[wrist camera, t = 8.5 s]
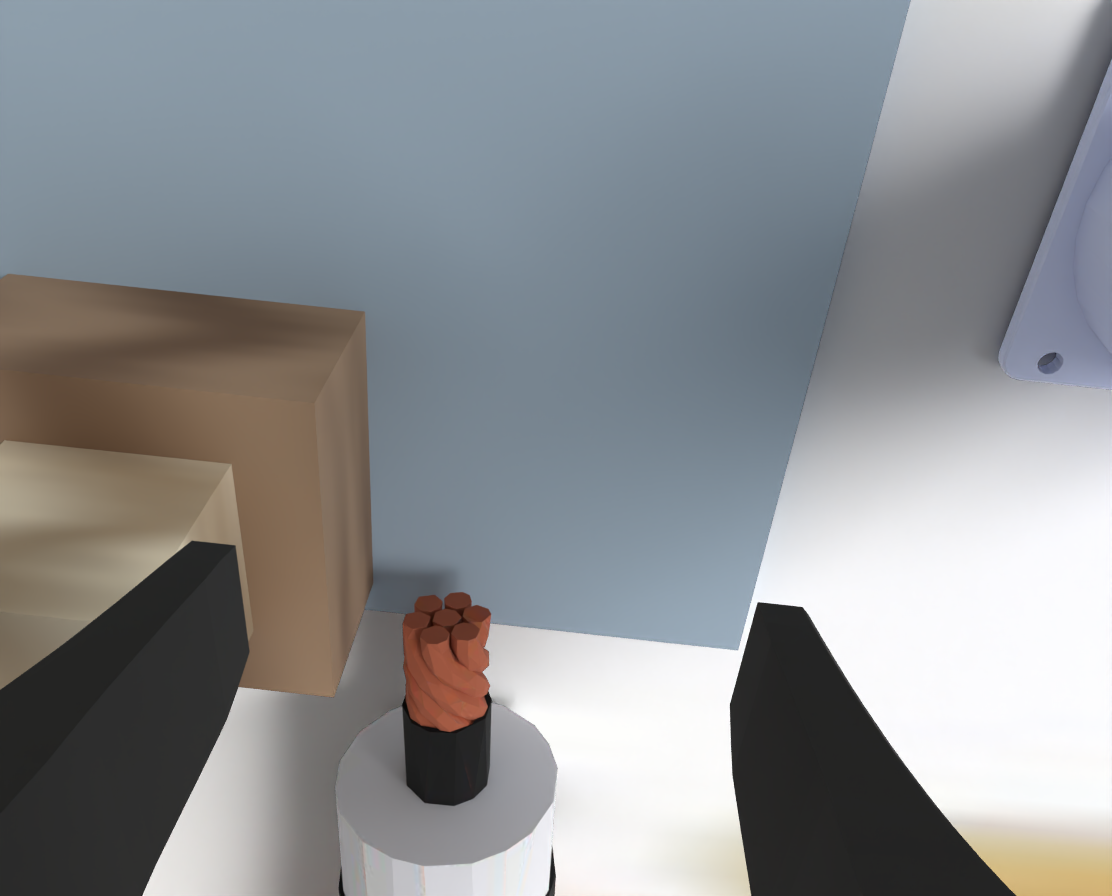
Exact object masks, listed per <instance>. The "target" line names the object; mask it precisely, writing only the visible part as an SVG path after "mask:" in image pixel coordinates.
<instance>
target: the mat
mask: <svg viewBox="0 0 1112 896" xmlns="http://www.w3.org/2000/svg"><path fill="white" fill-rule="evenodd" d="M910 1H911V0H0V279H1V278H3V277H4V276H6V275H7V274H16V275H26V276H35V277H45V278H54V279H63V280H73V281H82V282H92V283H101V284H110V285H120V286H129V287H139V288H148V289H158V290H167V291H176V292H186V293H195V294H205V295H214V296H223V297H233V298H242V299H252V300H261V301H271V302H280V303H289V304H299V305H308V306H318V307H327V308H336V309H346V310H355V311H365V325H366V358H367V391H368V424H369V457H370V490H371V523H372V556H373V585H372V588H371V591H370V594H369V597H368V600H367V603H366V606H365V610H374V611H383V612H392V613H401V614H408V613H414V604H415V602H416V601H417V599H418V597H420V596H429V595H436V596H437V597H438V598H439V599H441V600H442V601H443V603H442V610H443V609H445V606H444V598H445V597H446V596H447V595H448V594H450V593H456V592H464V593H466V594H469V595H470V597H471V600H472V606H474V605H479V606H482V607H485V608H488V609H489V611H490V613H491V620H490V623H493V624H502V625H511V626H520V627H529V628H538V629H547V630H557V631H566V632H575V633H584V634H593V635H602V636H611V637H620V638H630V639H639V640H648V641H657V642H666V643H675V644H684V645H693V646H703V647H712V648H721V649H730V650H738V648H739V645H740V641H741V637H742V633H743V629H744V626H745V622H746V618H747V614H748V611H749V607H750V603H751V599H752V596H753V592H754V588H755V584H756V581H757V577H758V573H759V569H760V565H761V562H762V558H763V554H764V550H765V547H766V543H767V539H768V535H769V532H770V528H771V524H772V520H773V517H774V513H775V509H776V505H777V501H778V498H779V494H780V490H781V486H782V483H783V479H784V475H785V471H786V468H787V464H788V460H789V456H790V453H791V449H792V445H793V441H794V437H795V434H796V430H797V426H798V422H799V419H800V415H801V411H802V407H803V404H804V400H805V396H806V392H807V389H808V385H809V381H810V377H811V373H812V370H813V366H814V362H815V358H816V355H817V351H818V347H819V343H820V340H821V336H822V332H823V328H824V325H825V321H826V317H827V313H828V309H829V306H830V302H831V298H832V294H833V291H834V287H835V283H836V279H837V276H838V272H839V268H840V264H841V260H842V257H843V253H844V249H845V245H846V242H847V238H848V234H849V230H850V227H851V223H852V219H853V215H854V212H855V208H856V204H857V200H858V196H859V193H860V189H861V185H862V181H863V178H864V174H865V170H866V166H867V163H868V159H869V155H870V151H871V148H872V144H873V140H874V136H875V132H876V129H877V125H878V121H879V117H880V114H881V110H882V106H883V102H884V99H885V95H886V91H887V87H888V84H889V80H890V76H891V72H892V68H893V65H894V61H895V57H896V53H897V50H898V46H899V42H900V38H901V35H902V31H903V27H904V23H905V20H906V16H907V12H908V8H909V4H910Z"/></svg>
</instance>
